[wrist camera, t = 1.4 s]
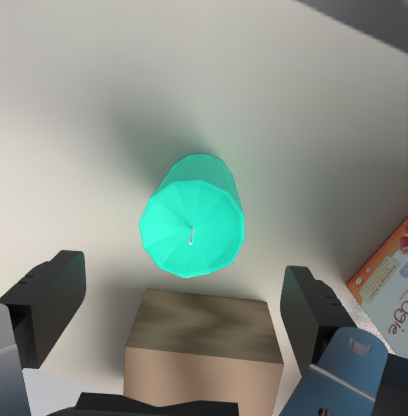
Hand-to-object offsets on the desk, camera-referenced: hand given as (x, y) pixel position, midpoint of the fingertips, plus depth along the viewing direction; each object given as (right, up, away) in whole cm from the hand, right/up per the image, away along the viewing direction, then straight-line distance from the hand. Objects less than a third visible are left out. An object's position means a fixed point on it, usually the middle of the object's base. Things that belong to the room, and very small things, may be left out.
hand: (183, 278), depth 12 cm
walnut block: (0, -11, +20) cm, 23 cm away
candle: (0, +5, +15) cm, 16 cm away
